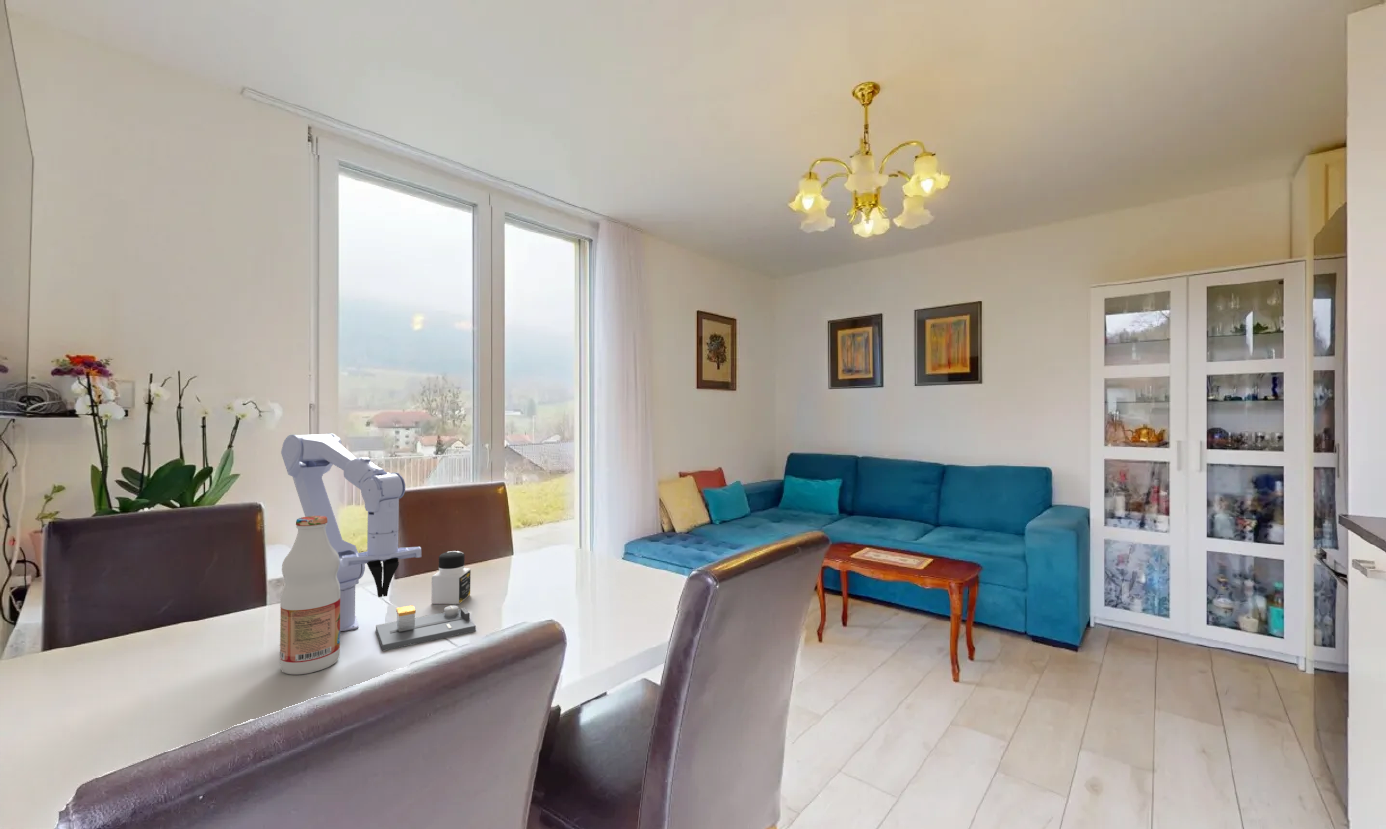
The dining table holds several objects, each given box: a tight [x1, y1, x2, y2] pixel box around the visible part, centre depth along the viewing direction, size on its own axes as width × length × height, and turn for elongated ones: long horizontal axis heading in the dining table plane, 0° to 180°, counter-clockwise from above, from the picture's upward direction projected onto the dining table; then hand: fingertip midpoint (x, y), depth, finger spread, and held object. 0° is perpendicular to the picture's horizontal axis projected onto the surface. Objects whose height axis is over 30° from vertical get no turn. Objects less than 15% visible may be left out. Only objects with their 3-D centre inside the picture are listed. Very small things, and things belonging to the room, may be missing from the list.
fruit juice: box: [279, 516, 341, 676], centre depth 105 cm, size 9×9×28 cm
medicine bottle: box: [430, 550, 472, 605], centre depth 142 cm, size 7×7×12 cm
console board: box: [375, 605, 477, 651], centre depth 122 cm, size 18×12×3 cm, turn 126°
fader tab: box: [395, 605, 416, 632], centre depth 120 cm, size 3×4×4 cm
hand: (382, 595), depth 117 cm, fingers closed
